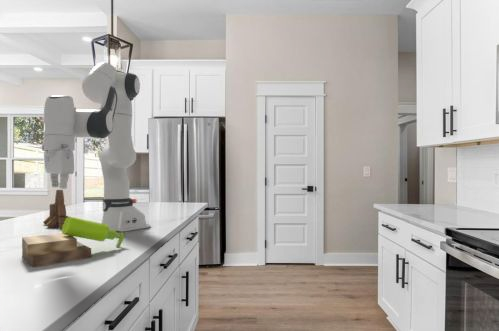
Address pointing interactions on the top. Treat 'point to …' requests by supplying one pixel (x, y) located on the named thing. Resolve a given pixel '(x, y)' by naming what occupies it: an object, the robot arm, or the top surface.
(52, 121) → the robot arm
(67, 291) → the top surface
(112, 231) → the soap dispenser
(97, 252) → the top surface
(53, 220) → the wooden blocks
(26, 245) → the oak top slab
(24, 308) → the top surface
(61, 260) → the walnut base slab
